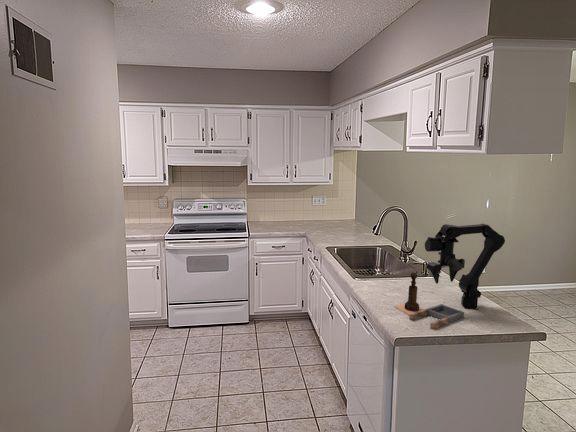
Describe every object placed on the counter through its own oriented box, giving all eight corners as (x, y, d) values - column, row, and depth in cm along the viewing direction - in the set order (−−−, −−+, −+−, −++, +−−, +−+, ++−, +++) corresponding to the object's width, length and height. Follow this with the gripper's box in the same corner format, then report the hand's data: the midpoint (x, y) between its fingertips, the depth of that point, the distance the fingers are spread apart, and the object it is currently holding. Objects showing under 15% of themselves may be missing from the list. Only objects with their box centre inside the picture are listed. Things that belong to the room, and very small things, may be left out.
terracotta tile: (412, 304, 207) (412, 303, 207) (428, 312, 197) (428, 311, 197) (394, 307, 203) (394, 306, 203) (409, 315, 193) (409, 314, 193)
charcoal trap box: (441, 308, 202) (441, 303, 202) (463, 317, 192) (464, 312, 192) (425, 314, 195) (425, 309, 195) (448, 323, 186) (448, 317, 185)
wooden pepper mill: (416, 306, 203) (418, 270, 200) (420, 311, 197) (423, 274, 194) (402, 306, 203) (405, 270, 200) (407, 311, 196) (409, 274, 194)
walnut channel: (424, 314, 195) (424, 309, 195) (447, 323, 185) (448, 318, 185) (409, 319, 189) (409, 314, 188) (432, 329, 179) (433, 323, 178)
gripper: (444, 257, 188) (441, 290, 190) (474, 253, 195) (471, 285, 197) (427, 251, 198) (424, 282, 200) (456, 248, 205) (454, 278, 207)
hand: (444, 282), depth 201 cm, fingers open, 9 cm apart
